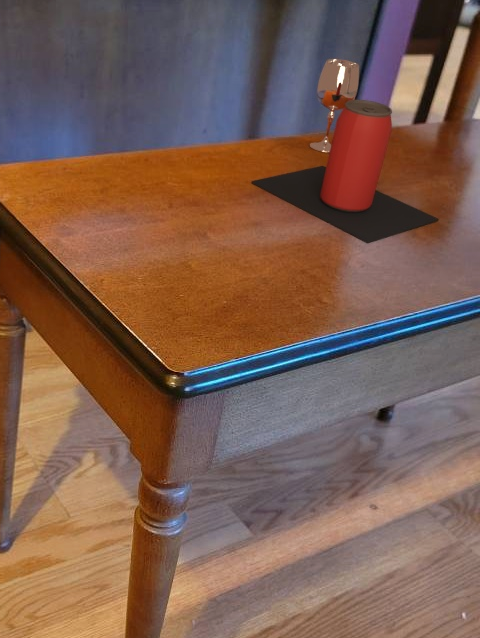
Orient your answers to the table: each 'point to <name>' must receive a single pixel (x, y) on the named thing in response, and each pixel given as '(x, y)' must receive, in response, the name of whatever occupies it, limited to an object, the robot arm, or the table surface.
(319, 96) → the wineglass
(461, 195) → the table surface
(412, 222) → the mat
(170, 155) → the table surface
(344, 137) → the beer can
